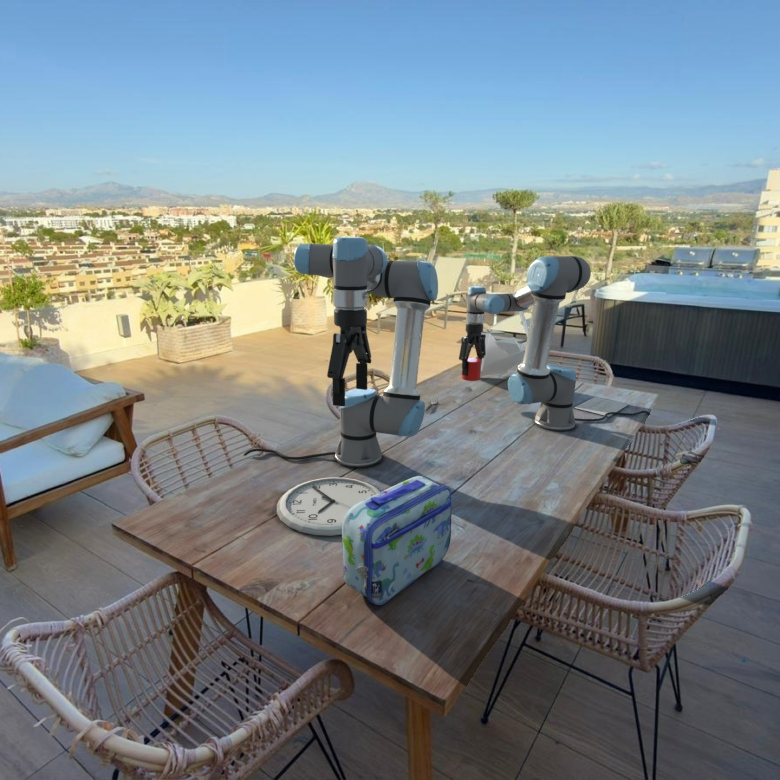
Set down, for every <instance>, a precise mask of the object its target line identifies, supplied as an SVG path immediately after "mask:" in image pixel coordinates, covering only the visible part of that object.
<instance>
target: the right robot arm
mask: <svg viewBox="0 0 780 780" xmlns="http://www.w3.org/2000/svg"><path fill="white" fill-rule="evenodd" d="M591 275H592V271H591V267H590V265H589V263H588V261H587V260H585V259H584V258H582V257H580V256H576V255H569V256H568V255H567V256H566V255H565V256H564V255H561V256H560V255H548V256H540V257H538V258H536V259H535V260H534V261H532V263H531V264H530V265H529V267H528V270H527V273H526V283H527V285H526V286H525V287H524V288H521V289H519V290H517V291H515V292H509V293H487V288H486V287H485V286H482V285H481V286H480V285H473V286H469V287H468V289H467V295H466V297H467V298H466V299H467V300H466V318H465V321H466V323H465V332H466V336H465V337H464V336H462V337H461V342H460V343H461V344H460V350H459V355H458V360H459V361H461V376H462V375H465V376H468V364H469V361H467V360H468V358H470V355H471V351H472V349H473V347H474V349H475V354H476V357H475V358H478V359H481V364H482V358H484V356H485V355H486V350H485V337H486V335H485V334H482V333H483V332H484V322H485V313H487V314H488V315H489V314H490V315H498V314H500V313H507V312H519V311H523V312H524V311H527V310H528V309H529V308H530V307H531V306H532V310H531V315H530V321H529V325H528V328H529V331H528V337H527V336H526V341H525V342H526V347H525V353H524V358H523V360H522V362H521V363H520V364H517V369H516V372H515V373H513V374H511V375H510V376H509V377H508V380H507V389H508V394H509V395H510V397H511V399H512V400H513V401H514V402H515V403H517V404H518V405H532V404H537V403H538V404H539V403H540V405H539V407H538V410H537V411H536V413H535V417H534V424H535V425H536V426H537V427H539V428H542V429H544V430H549V431H556V432H567V431H572V430H574V429H575V428H576V421H577V422H599V421H603V420H605V419H606V418H607V417H608V416H607V415H609V414H613V415H621V416H637V415H641V414H647V415H649V416H651V413H650V412H649V411H647V410H640V411H638V412H633V413H631V412H630V413H629V412H620V411H618V412H609V413H606V414H605V415H603V416H602V417H601V418H600V417H599V418H577V417H576V416H575V413H574V407H573V405H574V398H575V391H576V383H577V372H576V371H575V370H574V369H572V368H571V367H570V368H569V367H566V366H562V365H556V364H548V361H549V356H550V353H551V352H550V351H551V346H552V342H553V336H554V331H555V328H556V327H555V326H556V323H557V317H558V313H559V308H560V303H561V302H563V301H564V300H566V296H567V294H568V293H569V294H571V293H573V292H576V291H578V290H581V289H582V288H584V287H585V286H586V285H587V284H588V283H589V282H590V279H591ZM482 352H483V353H482ZM575 417H576V418H575Z"/></svg>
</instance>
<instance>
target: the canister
mask: <svg viewBox="0 0 780 780" xmlns="http://www.w3.org/2000/svg"><path fill="white" fill-rule="evenodd" d="M467 361H469V364H468V376H465V375H462V374H461V379H462V380H464V381H467V382H476V381H480V380H481V376H480V373H481V359H478V358H476V357H468V360H467Z"/></svg>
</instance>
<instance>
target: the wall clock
mask: <svg viewBox="0 0 780 780" xmlns="http://www.w3.org/2000/svg"><path fill="white" fill-rule="evenodd" d="M380 492H382V491H381V490H380V489H379V488H377V487H376V486H374V485H372V484H371V483H369V482H365V481H362V480H359V479H355V478H349V477H338V476H337V477H335V476H333V477H332V476H331V477H322V478H317V479H312V480H307V481H305V482H302V483H299V484H297V485H295V486H293V487H292V488H290V489H288V490H287V491H286V492H285V493H284V494H283V495H281V496H280V498H279V499H278V502H277V503H276V515H277V517H278V518H279V520H280V521H281V522H282V523H283V524H285V525H286V526H287V527H288V528H290V529H293V530H295V531H297V532H299V533H303V534H308V535H312V536H327V537H328V536H329V537H331V536H332V537H333V536H342V525H343V521H344V518H345V516H346V514H347V512H348V511H349V510H350V509H351V508H352V507H353V506H354V505H356V504H358V503H360V502H362V501H364V500H366V499H368V498H370V497H372V496H374V495H376V494H378V493H380Z"/></svg>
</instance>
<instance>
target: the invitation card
mask: <svg viewBox="0 0 780 780" xmlns="http://www.w3.org/2000/svg"><path fill="white" fill-rule="evenodd" d="M628 406H629V404H627V403H623V402H618V401H614V400H609V399H605V398H601V397H596V396H593V397H592V398H590V399H588V400H586V401H584V402H582V403H580V404H578V405H575V406H574V407H573V409H575V410H581V411H584V412H587V413H593V414H596V415H600V416H604V415H605V414H606V413H609V412H620V411H621V410H623V409H624V408H626V407H628ZM613 415H614V414H609V415H607V416H606V417H608V418H609V417H611V416H613Z"/></svg>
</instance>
